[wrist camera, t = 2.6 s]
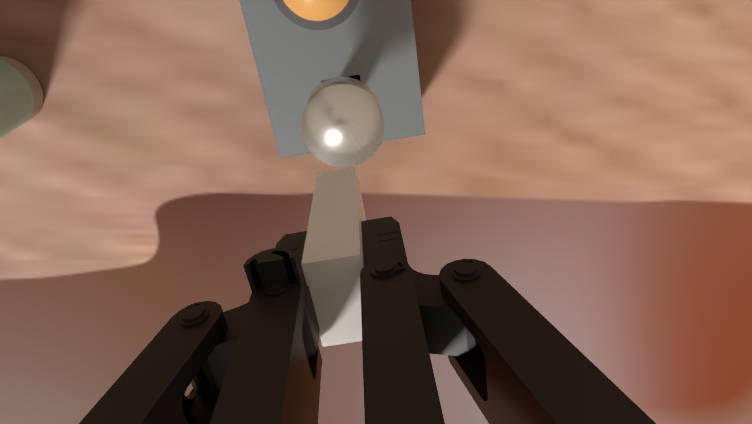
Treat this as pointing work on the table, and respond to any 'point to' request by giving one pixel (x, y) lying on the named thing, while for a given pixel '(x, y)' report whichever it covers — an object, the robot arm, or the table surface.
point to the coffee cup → (17, 95)
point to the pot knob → (317, 12)
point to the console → (337, 65)
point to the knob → (342, 122)
